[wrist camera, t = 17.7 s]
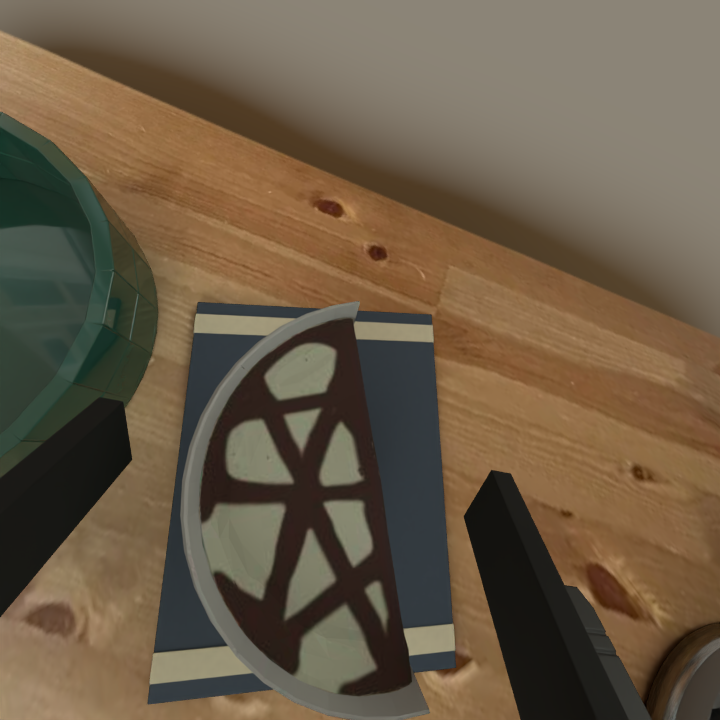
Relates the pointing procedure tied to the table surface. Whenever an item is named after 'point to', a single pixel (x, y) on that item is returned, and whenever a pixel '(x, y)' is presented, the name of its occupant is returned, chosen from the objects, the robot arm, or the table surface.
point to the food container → (299, 525)
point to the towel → (398, 478)
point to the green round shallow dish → (63, 295)
